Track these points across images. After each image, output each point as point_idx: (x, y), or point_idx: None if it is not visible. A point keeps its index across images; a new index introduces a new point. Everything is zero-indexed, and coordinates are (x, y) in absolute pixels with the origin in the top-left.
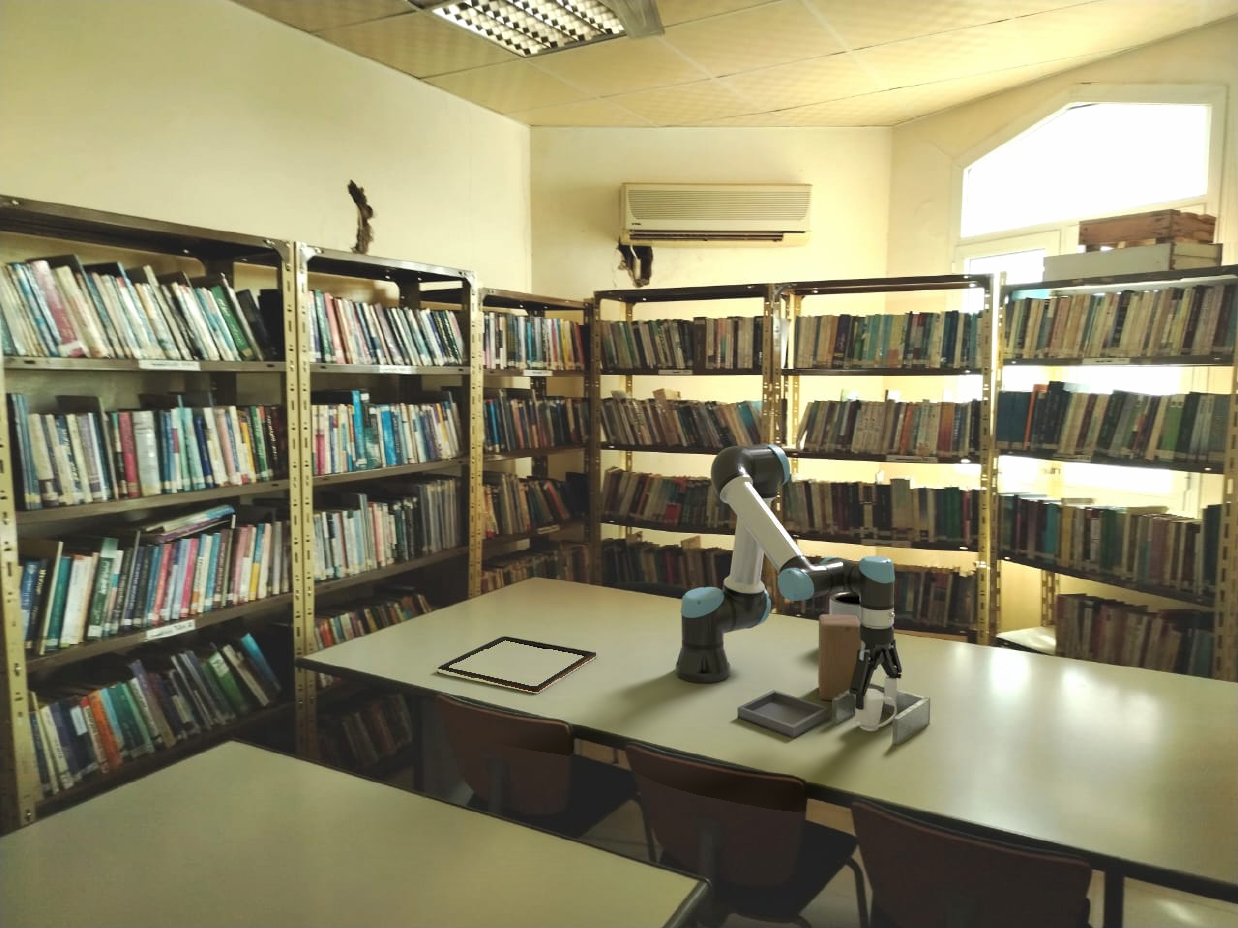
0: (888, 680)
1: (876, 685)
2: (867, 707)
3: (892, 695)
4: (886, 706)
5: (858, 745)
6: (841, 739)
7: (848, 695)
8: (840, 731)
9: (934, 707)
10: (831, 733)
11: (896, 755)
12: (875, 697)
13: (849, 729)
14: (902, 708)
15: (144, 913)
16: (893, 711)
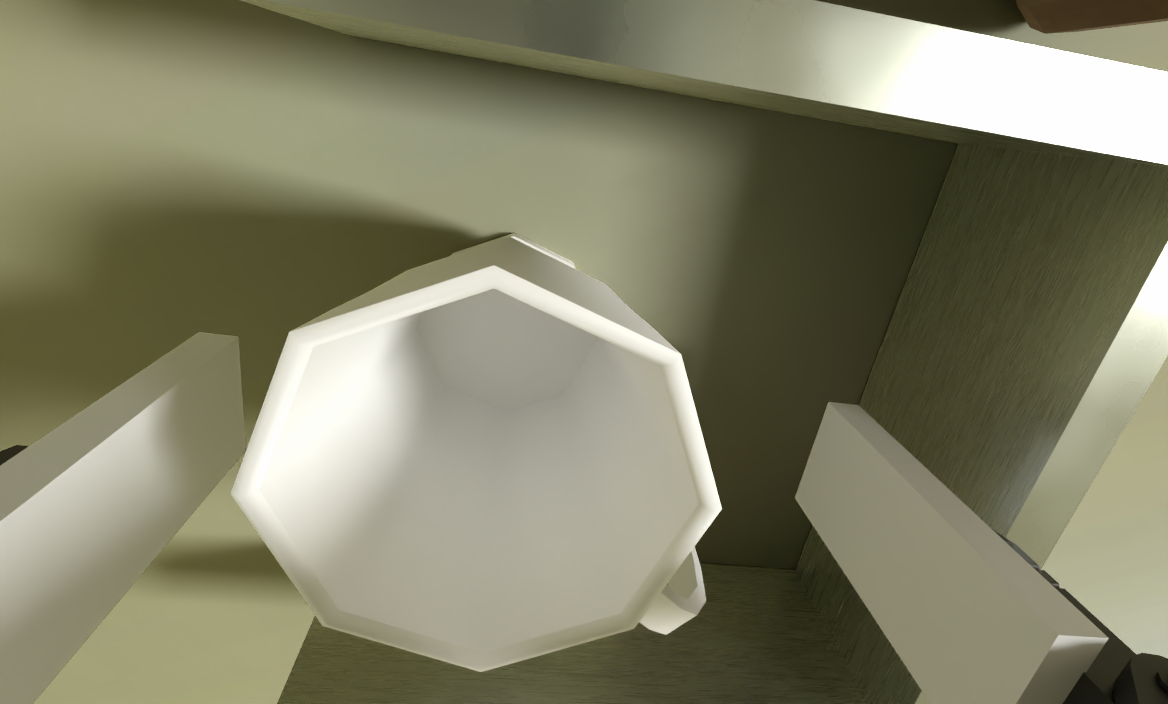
0: (992, 652)
1: (1128, 297)
2: (134, 570)
3: (854, 544)
4: (916, 340)
5: (116, 374)
6: (89, 217)
7: (615, 67)
8: (235, 139)
9: (1089, 547)
10: (120, 78)
11: (202, 605)
12: (654, 457)
13: (341, 195)
14: None
15: None
16: (879, 388)
